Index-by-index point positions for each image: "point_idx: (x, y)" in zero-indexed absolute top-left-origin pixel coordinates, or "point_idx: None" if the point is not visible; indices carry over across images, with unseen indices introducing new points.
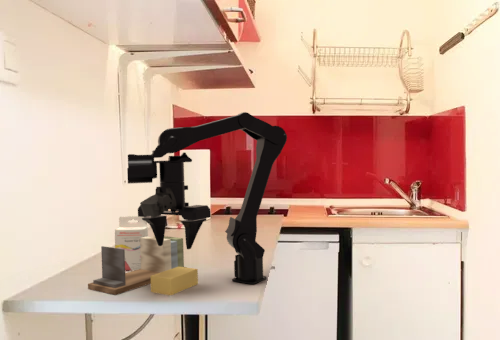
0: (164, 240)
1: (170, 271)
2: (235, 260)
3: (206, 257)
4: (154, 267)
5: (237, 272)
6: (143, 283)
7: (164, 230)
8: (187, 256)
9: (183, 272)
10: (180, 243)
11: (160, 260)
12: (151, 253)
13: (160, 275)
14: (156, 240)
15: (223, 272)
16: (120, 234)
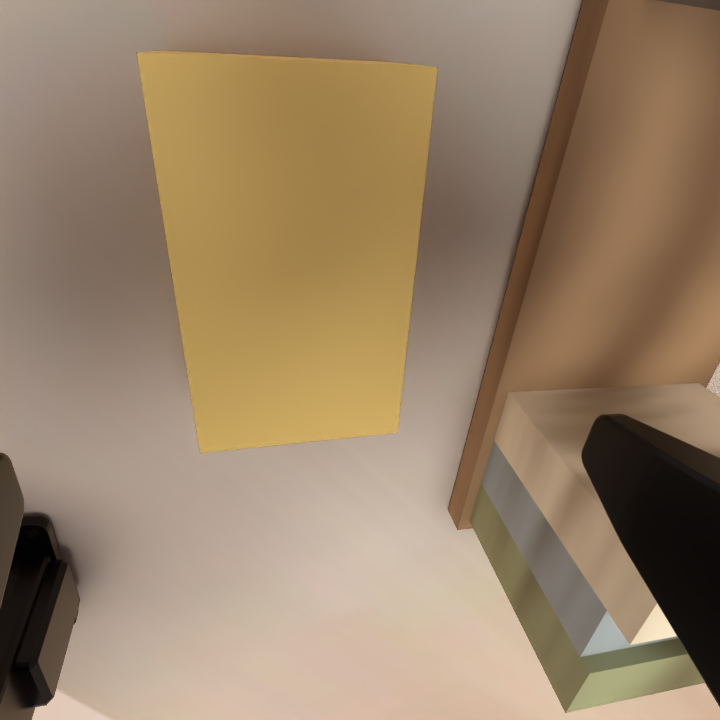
0: None
1: (358, 296)
2: (3, 669)
3: (491, 669)
4: (610, 403)
5: (15, 587)
6: (546, 175)
7: (718, 690)
8: None
9: (220, 324)
10: (554, 654)
11: None
12: None
13: (350, 135)
14: (700, 449)
15: (248, 588)
16: None
